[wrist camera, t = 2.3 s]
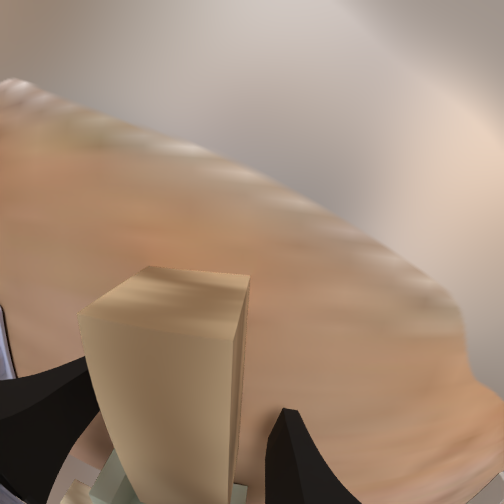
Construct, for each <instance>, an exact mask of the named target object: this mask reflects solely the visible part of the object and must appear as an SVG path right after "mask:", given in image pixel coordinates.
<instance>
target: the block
mask: <svg viewBox="0 0 504 504" xmlns="http://www.w3.org/2000/svg"><path fill="white" fill-rule="evenodd" d="M88 494H89V496H90V498H91V500H92V502H93V504H146V503H143V502H140V500H139V498H138V497H137V495H136V493H135V491H134V489H133V487H132V485H131V483H130V481H129V479H128V477H127V475H126V473H125V471H124V469H123V466H122V464H121V462H120V460H119V457H118V455H117V453H116V450H115V448H114V450H113V451H112V453H111V455H110V457H109V458H108V460H107V462H106V464H105V465H104V467H103V469H102V471H101V472H100V474H99V476H98V477H97V479H96V481H95V483H94V485H93V486H92V488H91V490H90V492H89V493H88ZM246 496H247V486H243V485H238V484H233V488H232V494H231V501H230V504H246Z"/></svg>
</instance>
